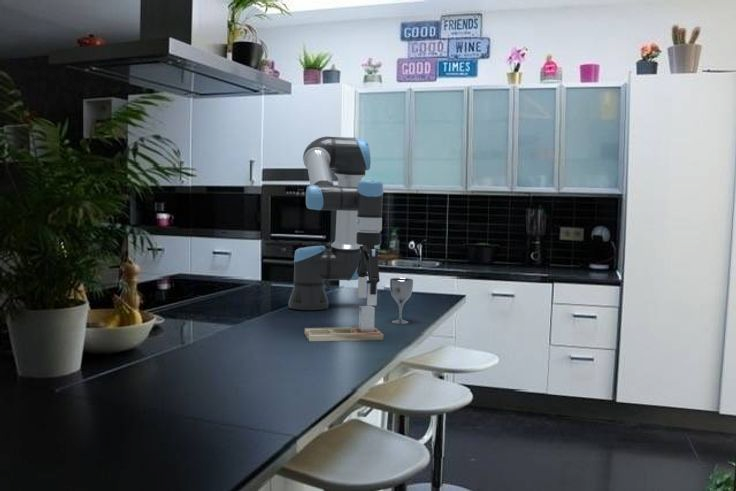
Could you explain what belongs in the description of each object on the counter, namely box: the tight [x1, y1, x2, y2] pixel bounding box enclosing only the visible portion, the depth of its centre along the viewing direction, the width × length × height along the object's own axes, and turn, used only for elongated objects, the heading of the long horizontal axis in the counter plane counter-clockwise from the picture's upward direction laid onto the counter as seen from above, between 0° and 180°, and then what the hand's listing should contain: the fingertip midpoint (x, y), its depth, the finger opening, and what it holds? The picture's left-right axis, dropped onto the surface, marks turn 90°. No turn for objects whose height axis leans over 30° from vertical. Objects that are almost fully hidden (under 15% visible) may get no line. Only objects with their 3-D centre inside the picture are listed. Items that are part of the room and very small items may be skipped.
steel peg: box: [358, 305, 376, 332], centre depth 189 cm, size 4×4×9 cm
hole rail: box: [304, 326, 384, 342], centre depth 188 cm, size 12×22×2 cm, turn 103°
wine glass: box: [389, 277, 414, 325], centre depth 214 cm, size 8×8×15 cm
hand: (366, 301), depth 189 cm, fingers open, 13 cm apart
